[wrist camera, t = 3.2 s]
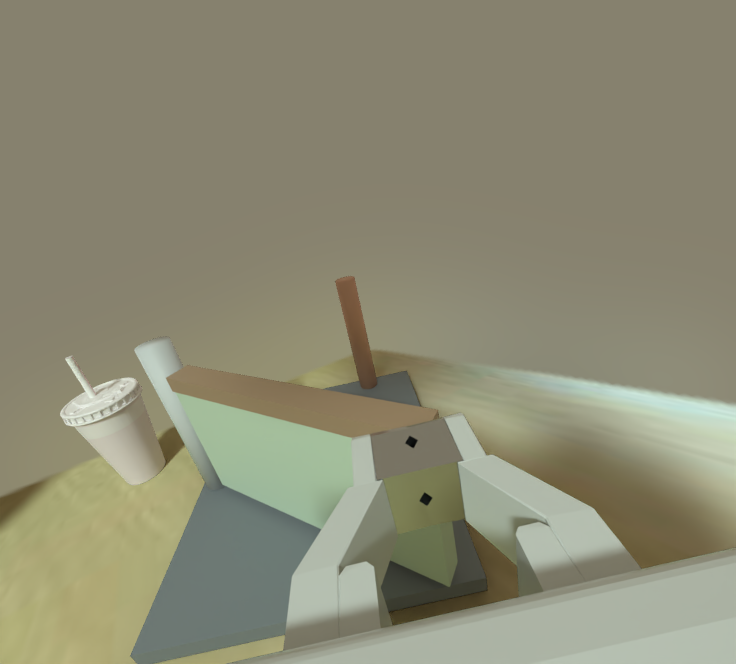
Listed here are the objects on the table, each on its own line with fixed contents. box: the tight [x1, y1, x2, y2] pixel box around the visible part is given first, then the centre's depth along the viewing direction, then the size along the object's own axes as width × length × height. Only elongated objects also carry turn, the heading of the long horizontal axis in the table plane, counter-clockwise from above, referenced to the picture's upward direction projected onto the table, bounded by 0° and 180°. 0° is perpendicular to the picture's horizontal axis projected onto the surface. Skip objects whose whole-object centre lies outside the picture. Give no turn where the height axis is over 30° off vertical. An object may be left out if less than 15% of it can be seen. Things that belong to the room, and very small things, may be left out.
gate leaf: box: [166, 365, 458, 587], centre depth 23 cm, size 20×2×11 cm, turn 61°
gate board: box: [130, 276, 487, 664], centre depth 28 cm, size 21×24×15 cm
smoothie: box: [60, 356, 166, 485], centre depth 33 cm, size 6×6×14 cm
